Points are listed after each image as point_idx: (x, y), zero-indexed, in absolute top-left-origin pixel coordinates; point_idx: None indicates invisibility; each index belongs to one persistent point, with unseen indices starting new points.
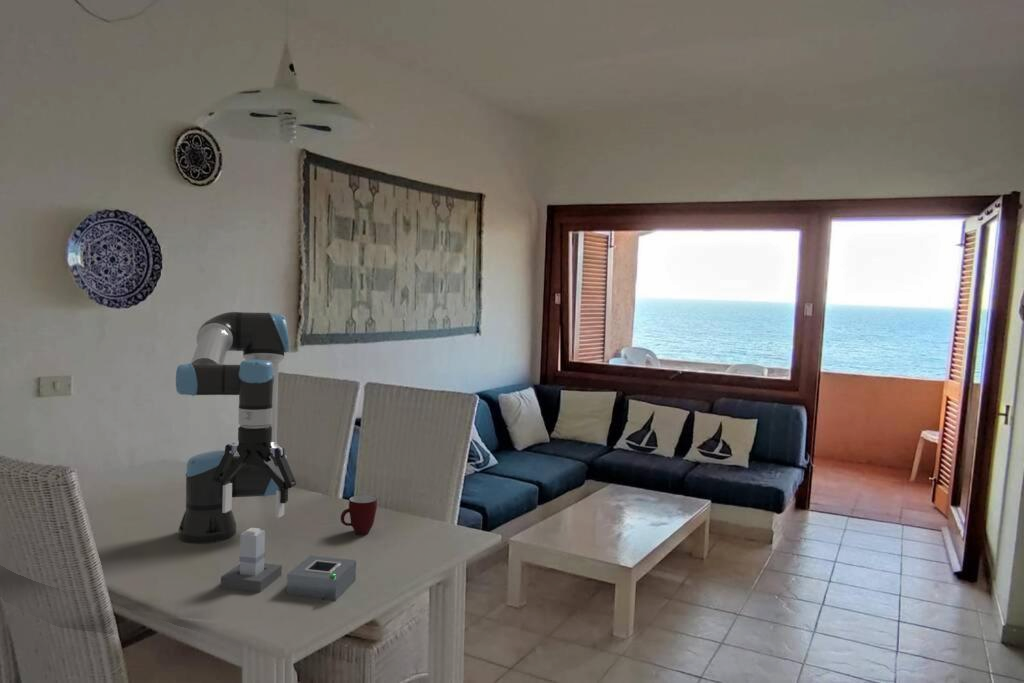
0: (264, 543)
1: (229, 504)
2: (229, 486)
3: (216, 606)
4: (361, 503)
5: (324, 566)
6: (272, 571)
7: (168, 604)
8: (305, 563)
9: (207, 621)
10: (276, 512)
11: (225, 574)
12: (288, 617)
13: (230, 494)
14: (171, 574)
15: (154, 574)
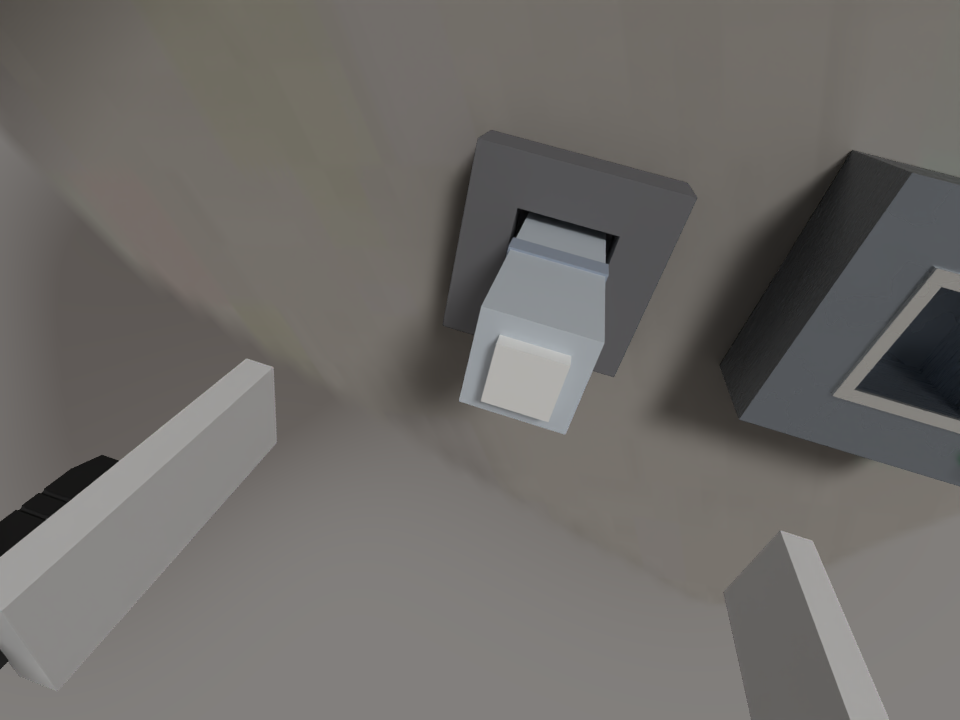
0: (604, 301)
1: (235, 432)
2: (59, 615)
3: (490, 417)
4: None
5: None
6: (653, 278)
7: (351, 391)
8: (853, 306)
9: (498, 487)
10: (741, 644)
11: (450, 304)
12: (728, 502)
13: (155, 498)
14: (212, 156)
15: (156, 157)
